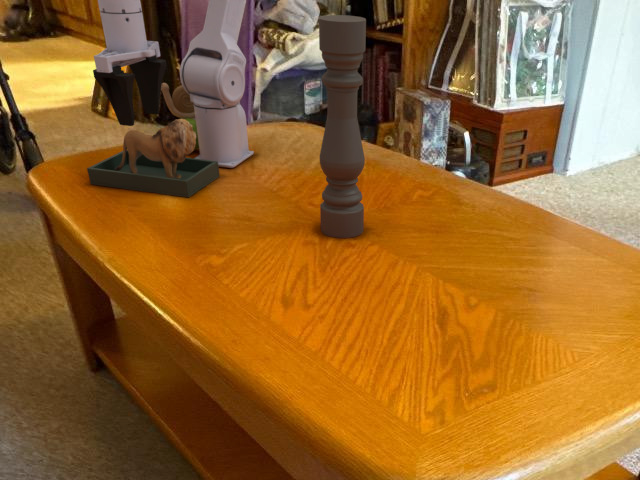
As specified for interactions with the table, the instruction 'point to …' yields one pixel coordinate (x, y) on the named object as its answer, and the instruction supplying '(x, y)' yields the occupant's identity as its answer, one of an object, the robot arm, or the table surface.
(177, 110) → the snail figurine
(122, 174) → the tray
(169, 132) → the lion figurine
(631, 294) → the table surface
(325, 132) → the candle holder
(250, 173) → the table surface
